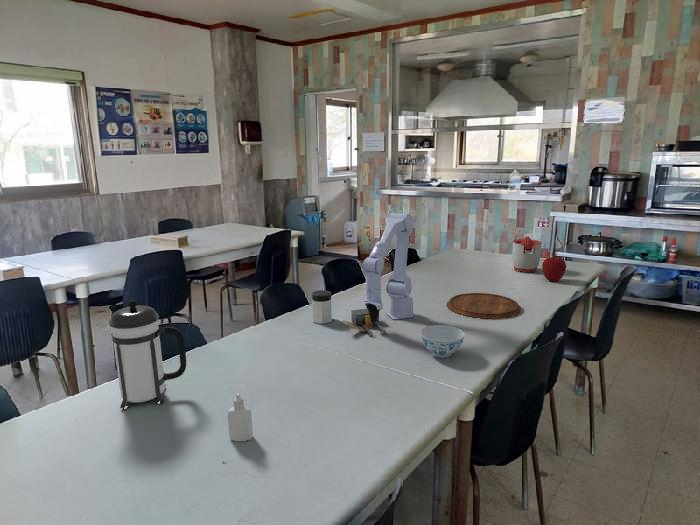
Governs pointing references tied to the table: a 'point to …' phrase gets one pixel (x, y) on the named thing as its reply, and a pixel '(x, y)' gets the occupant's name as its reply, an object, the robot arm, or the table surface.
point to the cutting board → (483, 306)
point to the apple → (553, 268)
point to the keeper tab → (354, 326)
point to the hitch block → (358, 320)
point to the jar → (321, 306)
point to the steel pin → (367, 321)
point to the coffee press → (141, 353)
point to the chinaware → (442, 339)
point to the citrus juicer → (526, 254)
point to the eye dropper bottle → (240, 421)
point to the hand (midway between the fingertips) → (373, 321)
